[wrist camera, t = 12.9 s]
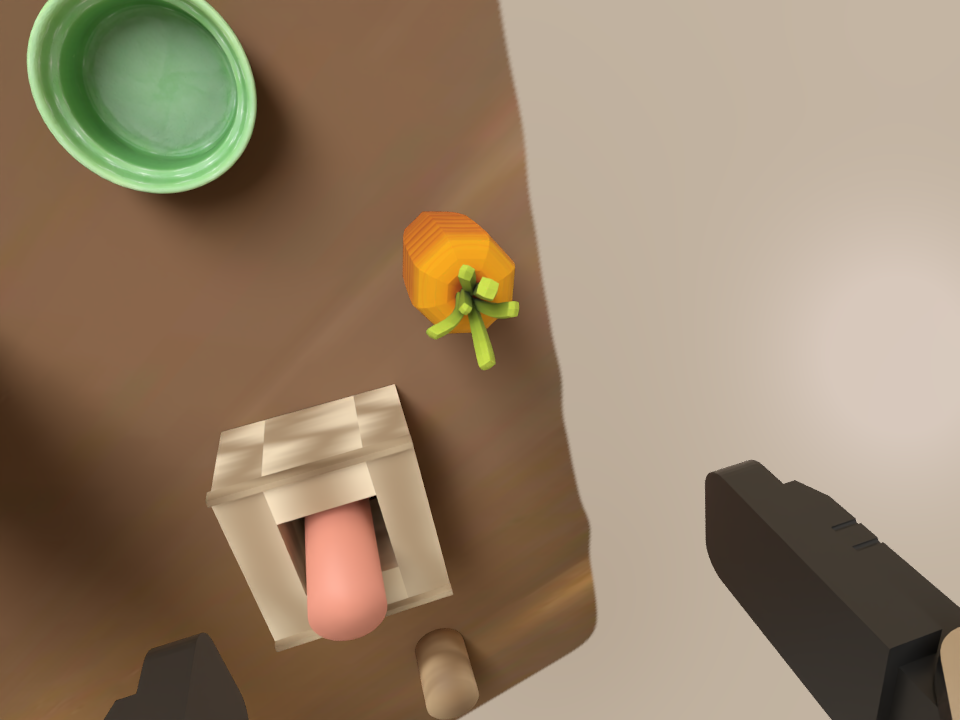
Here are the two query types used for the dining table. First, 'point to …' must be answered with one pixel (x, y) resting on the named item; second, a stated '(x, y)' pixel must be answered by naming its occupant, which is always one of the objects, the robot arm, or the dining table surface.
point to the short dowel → (446, 674)
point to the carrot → (458, 278)
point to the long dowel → (343, 572)
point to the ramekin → (143, 89)
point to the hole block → (325, 503)
